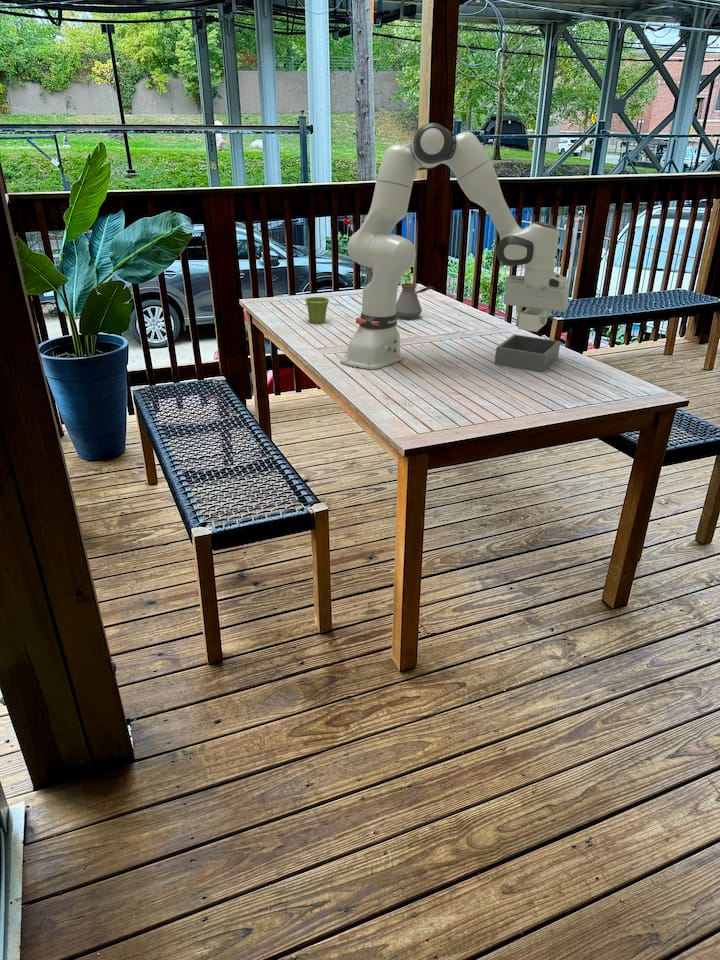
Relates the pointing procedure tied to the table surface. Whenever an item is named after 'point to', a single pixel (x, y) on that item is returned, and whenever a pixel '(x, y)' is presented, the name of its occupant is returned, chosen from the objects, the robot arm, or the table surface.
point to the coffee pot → (409, 301)
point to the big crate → (527, 353)
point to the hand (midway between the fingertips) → (532, 321)
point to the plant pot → (317, 309)
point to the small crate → (531, 319)
